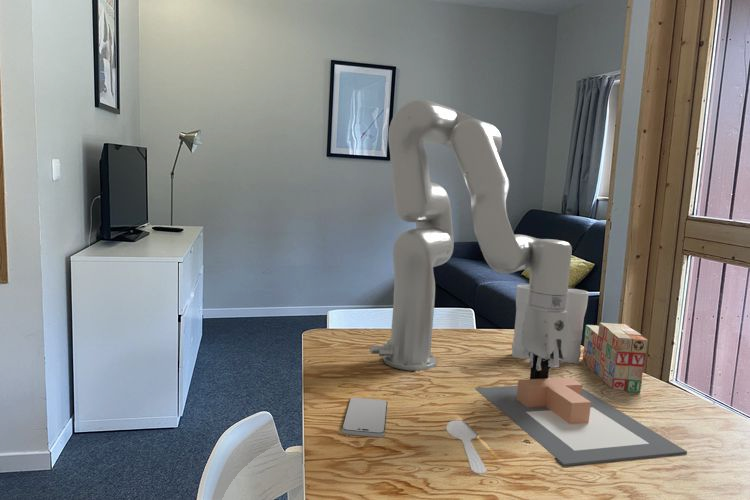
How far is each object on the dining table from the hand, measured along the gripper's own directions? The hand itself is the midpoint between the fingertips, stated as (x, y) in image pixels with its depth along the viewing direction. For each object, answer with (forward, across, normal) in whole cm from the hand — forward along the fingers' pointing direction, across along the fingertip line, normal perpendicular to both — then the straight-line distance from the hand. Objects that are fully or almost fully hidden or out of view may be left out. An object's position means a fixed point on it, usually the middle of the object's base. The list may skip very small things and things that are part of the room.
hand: (538, 386), depth 114 cm
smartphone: (+3, -4, +38) cm, 39 cm away
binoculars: (+2, +21, -16) cm, 27 cm away
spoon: (+2, -17, +24) cm, 30 cm away
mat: (+2, -11, 0) cm, 11 cm away
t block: (+1, -8, 0) cm, 8 cm away
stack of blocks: (+2, +9, -25) cm, 27 cm away
